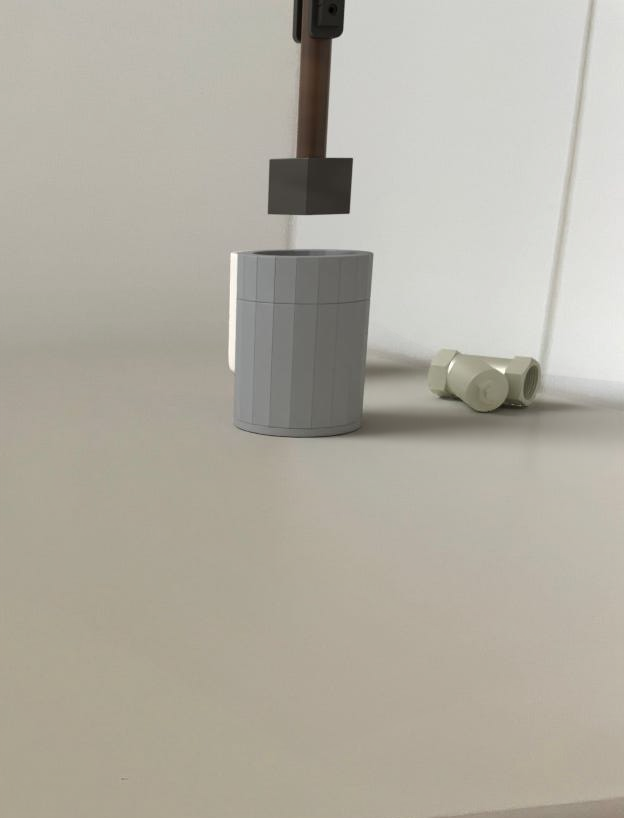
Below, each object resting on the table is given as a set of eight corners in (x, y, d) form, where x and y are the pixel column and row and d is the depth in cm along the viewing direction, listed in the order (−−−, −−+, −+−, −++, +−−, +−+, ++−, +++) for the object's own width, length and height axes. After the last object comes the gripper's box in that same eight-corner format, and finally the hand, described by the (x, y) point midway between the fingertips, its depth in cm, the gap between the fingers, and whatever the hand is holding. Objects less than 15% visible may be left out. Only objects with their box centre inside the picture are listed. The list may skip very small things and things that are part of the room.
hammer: (310, 213, 76) (322, -42, 70) (350, 214, 73) (366, -53, 67) (267, 214, 74) (275, -49, 68) (305, 215, 71) (318, -60, 65)
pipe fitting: (499, 422, 81) (538, 402, 86) (503, 370, 80) (543, 353, 84) (405, 409, 86) (447, 391, 91) (408, 360, 85) (449, 344, 89)
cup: (331, 408, 85) (340, 247, 80) (382, 432, 77) (396, 255, 72) (217, 414, 83) (220, 250, 78) (257, 440, 75) (263, 258, 70)
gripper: (448, -343, 57) (419, 27, 64) (344, -249, 70) (329, 53, 76) (317, -356, 56) (301, 25, 63) (234, -258, 68) (229, 51, 75)
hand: (316, 39), depth 69 cm, fingers closed on hammer, 2 cm apart
